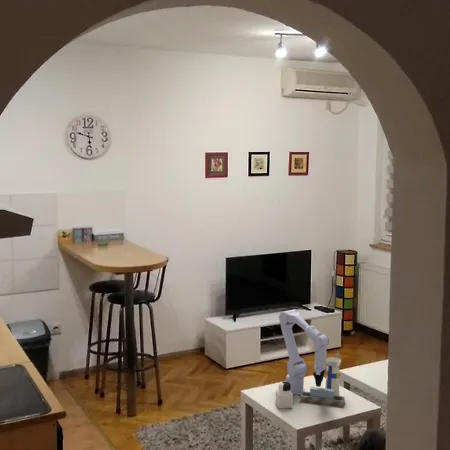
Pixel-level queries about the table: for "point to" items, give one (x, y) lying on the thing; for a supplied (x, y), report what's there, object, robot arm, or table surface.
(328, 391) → the grey-blue rectangular block
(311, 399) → the track board
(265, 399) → the table surface
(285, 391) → the medicine bottle
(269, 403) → the table surface
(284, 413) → the table surface
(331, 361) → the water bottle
